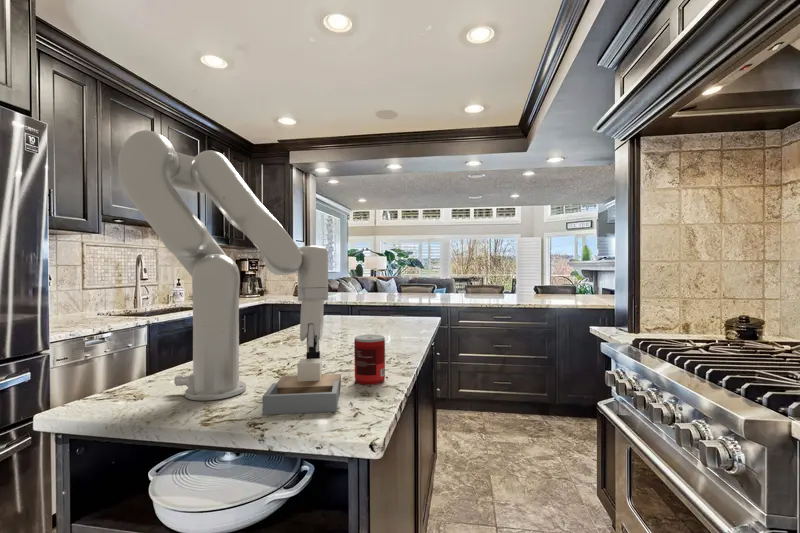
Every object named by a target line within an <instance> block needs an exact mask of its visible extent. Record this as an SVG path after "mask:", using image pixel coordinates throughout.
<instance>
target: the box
mask: <svg viewBox="0 0 800 533" xmlns="http://www.w3.org/2000/svg"><path fill="white" fill-rule="evenodd" d="M339 397H340V393H339V381H334V384H333V389H332V392H321V393H296V394H278V383H277V382H276V383H275V382H274V383H272V384H271V385H270V386H269V387H268V389H267V390H266V392H265V393H264V394H263V395H262V416H264V415H266V416H267V415H269V416H270V415H286V414H289V415H291V414H312V413H331V412H337V411H338V406H339V399H340V398H339Z"/></svg>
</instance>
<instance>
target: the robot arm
mask: <svg viewBox="0 0 800 533" xmlns="http://www.w3.org/2000/svg"><path fill="white" fill-rule="evenodd" d="M117 161H118V163H117V165H118V166H117V167H118V175H119V179H120V182H121V185H122V187H123V189H124V190H125V193H126V195H127V196H128V198H129V199H130V201H131V203H132V204H133V205H134V206H135V207H136V209H137V210H138V211H139V213H140V214H141V215H142V217H143V218H144V219H145V221H146V222H147V223H148V225H149V226H150V227H151V229H152V230H154V232H155V233H156V235H157V236H158V237H159V239H160V240H161V242H162V244H163V245H164V247H165V249H167V250H168V251H169V252H170V253H172V255H174V257H175V259H177V260H178V262H179V263H180V264H181V265H182V266H183V268H184V269H185V270H186V271H187V273H188V274H189V275H190V276H191V277H192V278H191V281H192V282H191V287H192V288H191V291H192V373H190V374H189V375H184V374H181V375H180V374H179V375H175V376H174V380H173V382H174V384H175V387H177V386H179V387H182V386H186V387H187V389H186V390H184V397H185V398H186V399H188V400H192V401H202V402H203V401H215V400H216V401H217V400H223V399H228V398H231V397H235V396H238V395H240V394H242V393H244V392H245V391H246V389H247V383H246V382H244V381H241V380H240V338H239V337H240V285H241V279H240V278H241V277H240V270H239V266H238V264H236V262H235V261H234V259H232V258H231V257H229V256H228V255H227V254H226V253H225V251H224V250H223V249H222V247H221V246H220V244H218V242H217V241H216V240H215V238H214V237H213V236H212V234H211V233H210V232H209V231H208V228H207V226H206V225H205V223H204V222H203V221H201V220H200V219H199V218H198V217H197V216H196V214H195V213H194V212H193V211H192V210H191V209H190V207H189V206H188V205H187V203H186V202H185V201H184V200H183V198H182V196H181V195H180V194H179V192H178V191H177V190H176V189H175V188H178V189H183V190H187V191H191V192H196V193H201V194H206V195H207V196H208V197H209V199H210V200H211V201H212V202H213V203H214V205H215V206H216V208H218V210H219V211H220V212H221V213H222V215H223V216H224V217H225V219H226V220H227V221H228V222H229V223H230V224H231V225H232V226H233V227H234V228H235V229H236V230H239V231H240V232H242V234H244V235H245V236H246V237H247V239H249V241H251V243H252V244H253V245H254V246H255V247H256V248H257V249H258V251H259V252H260V253H261V254H262V256H263V257H264V264H265V266H266V268H267V270H268V271H269V272H270V273H272V274H274V275H277V276H286V275H291V274H297V301H298V302H301V305H300V306H301V307H300V322H299V323H300V324H299V341H300V342H304V341H305V340H306V352H305V354H306V357H305V359H321V350H320V340H321V339H322V337H323V334H324V331H323V330H324V310H325V309H324V302H325V301H329V251H328V248H327V247H324V246H320V245H303V246H301V247H299V246H298V245H297V243H296V242H295V241H294V239H293V238H292V237H291V235H289V233H288V232H287V230H286V229H285V228H284V227H283V225H282V224H281V223H280V222H279V221H278V220H277V218H276V217H275V216H274V215H273V214H272V212H270V211H269V210H268V209H267V208H266V206H265V205H264V204H263V203H262V202H261V201H260V199H259V198H258V197H257V196H256V194H254V192H253V191H252V189H251V188H250V187H249V185H248V184H247V183H246V182H245V180H244V179H243V177H241V175H240V174H239V172H238V170H236V169H235V167H234V166H233V165H232V163H231V162H230V161H229V159H228V158H227V157H226V156H225V155H223V154H222V153H221V152H219V151H217V150H210V149H209V150H203V151H201V152H200V153H198V154H197V155H195V156H192V155H189V154H188V155H187V154H184V153H181V152H178V151H176V149H175V147H174V145H173V143H171V141H170V140H169V139H167V138H166V137H165V136H163V135H162V134H161V133H159V132H156V131H153V130H148V129H147V130H145V129H144V130H139V131H136V132H134V133H133V134H131V135H130V136H128V138H126V140H125V142H124V143H123V145H122V147H121V149H120V151H119V155H118V159H117Z"/></svg>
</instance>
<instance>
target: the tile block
mask: <svg viewBox="0 0 800 533" xmlns="http://www.w3.org/2000/svg"><path fill="white" fill-rule="evenodd" d="M296 367H297V375H298V382H299V381H320V379H321V376H322V375H323V358H321V357H320V359H306V358H301V359H299V361H298V363H297V366H296Z"/></svg>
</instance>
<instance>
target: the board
mask: <svg viewBox="0 0 800 533" xmlns="http://www.w3.org/2000/svg"><path fill="white" fill-rule="evenodd" d="M334 381H339V394H340V392H341V384H342V374H341V373H330V374H322V376H321V379H320V381H299V382H298V374H297V375H282V376H281V377H280V378H279V380H277V382H276V383H278V394H296V393H321V392H332V389H333V384H334Z"/></svg>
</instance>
